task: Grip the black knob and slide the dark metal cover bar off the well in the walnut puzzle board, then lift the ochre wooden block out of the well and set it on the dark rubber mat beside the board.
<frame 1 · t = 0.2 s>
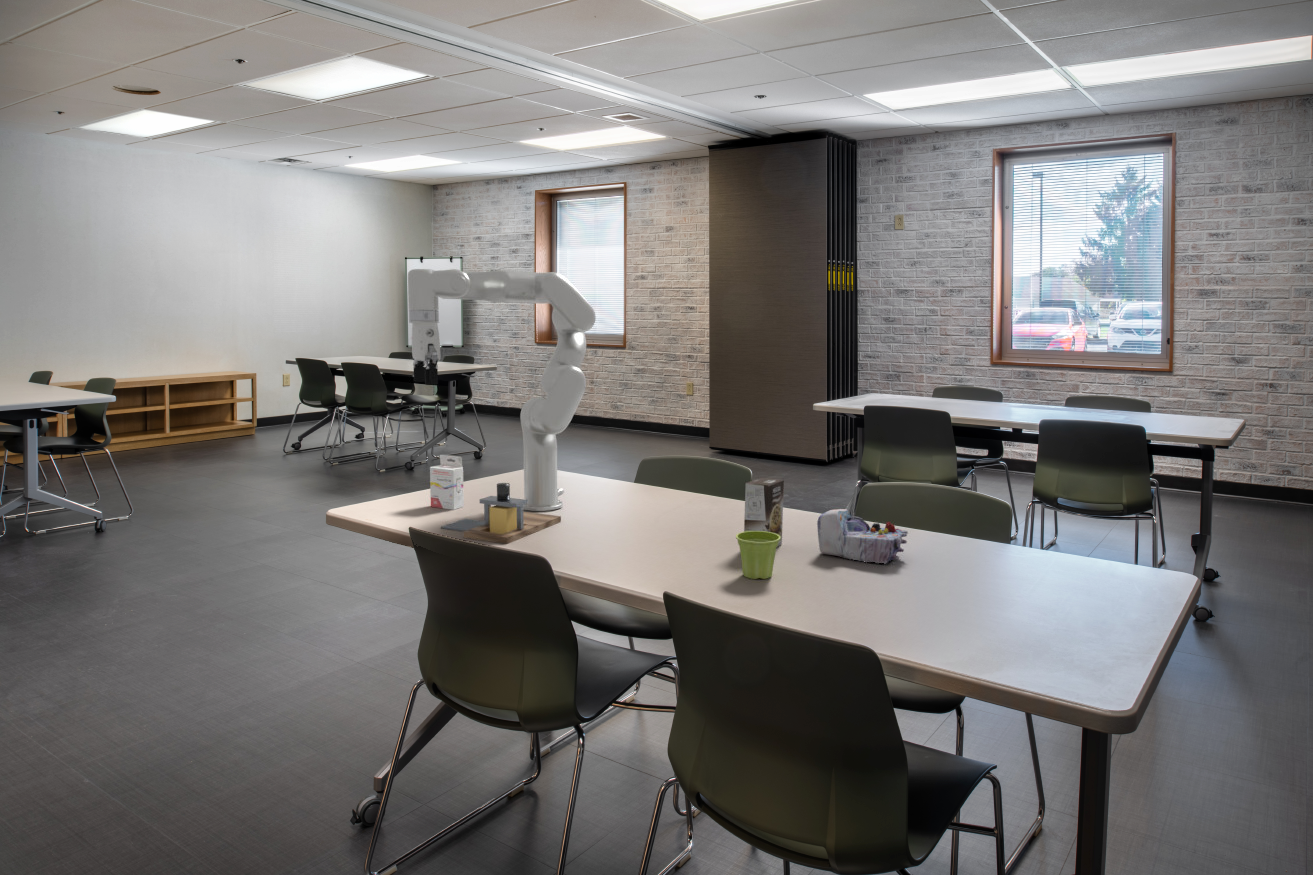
hand: (425, 383, 225), 37 cm above the table, fingers open, 9 cm apart
puzzle board: (514, 529, 221), on the table
plant pot: (757, 576, 183), on the table
ochre block: (504, 533, 217), resting in puzzle board
cover bar: (503, 505, 216), point 7 cm above the table, slide at 0.0 cm
coffee box: (763, 547, 206), on the table
rubber mat: (468, 526, 224), on the table
cell model: (860, 557, 199), on the table
ink cartridge box: (447, 507, 247), on the table
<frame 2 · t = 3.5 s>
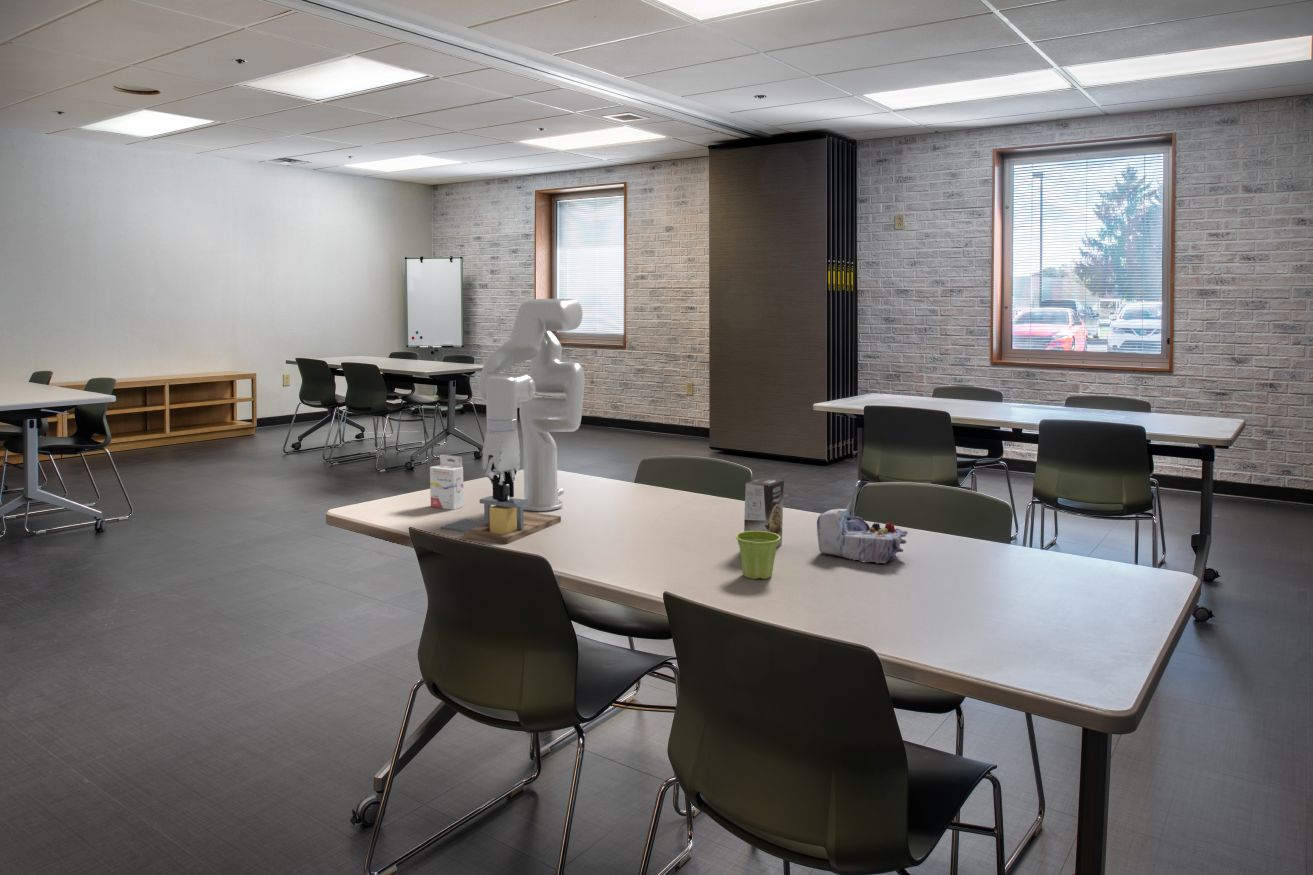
hand: (503, 497, 216), 9 cm above the table, fingers closed on cover bar, 3 cm apart
cover bar: (503, 505, 216), point 7 cm above the table, slide at 0.0 cm, touching gripper
everything else where it was.
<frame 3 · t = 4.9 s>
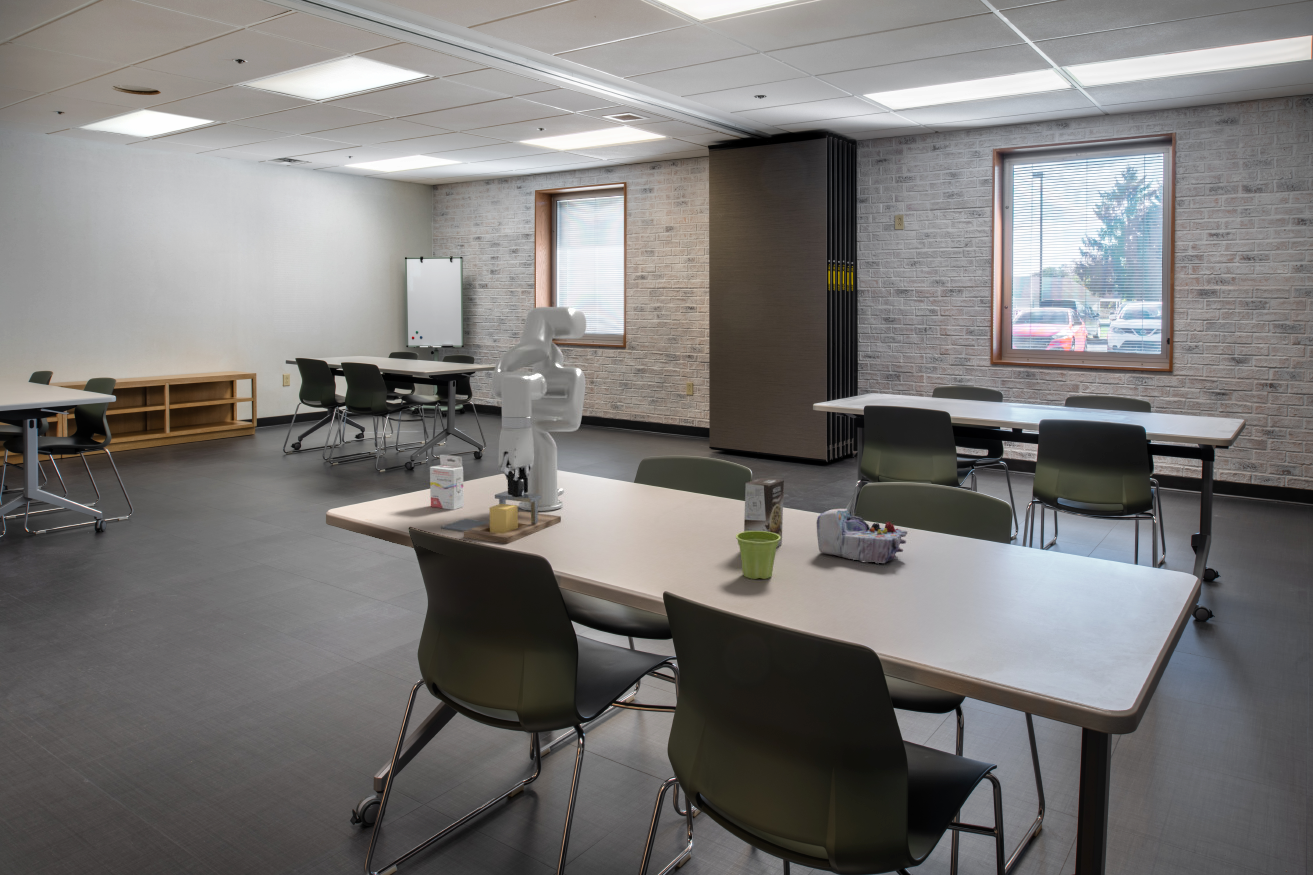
hand: (518, 492, 222), 9 cm above the table, fingers closed on cover bar, 3 cm apart
cover bar: (518, 500, 222), point 7 cm above the table, slide at 6.5 cm, touching gripper
everything else where it was.
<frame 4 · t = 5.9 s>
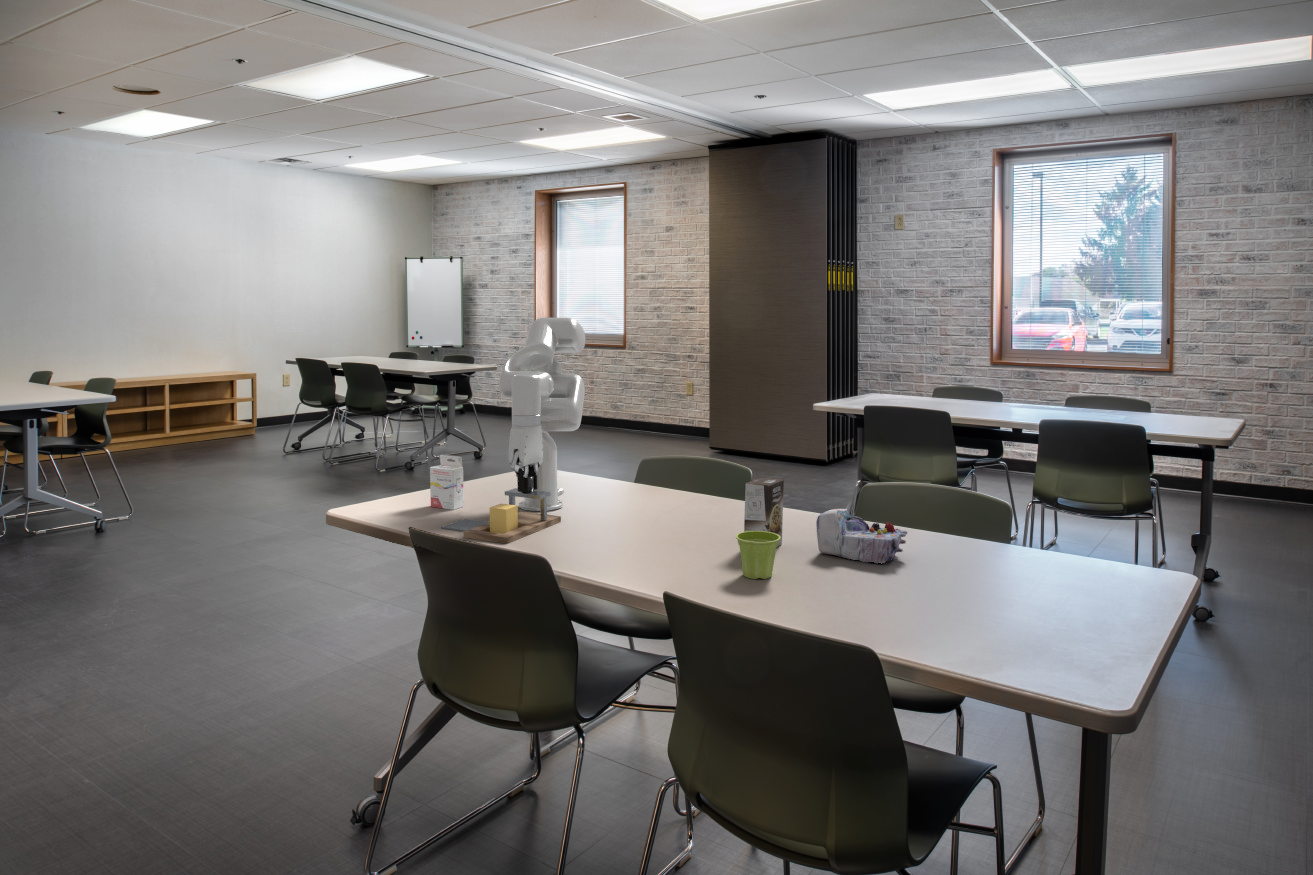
hand: (527, 489, 226), 9 cm above the table, fingers closed on cover bar, 3 cm apart
cover bar: (527, 497, 226), point 7 cm above the table, slide at 11.0 cm, touching gripper
everything else where it was.
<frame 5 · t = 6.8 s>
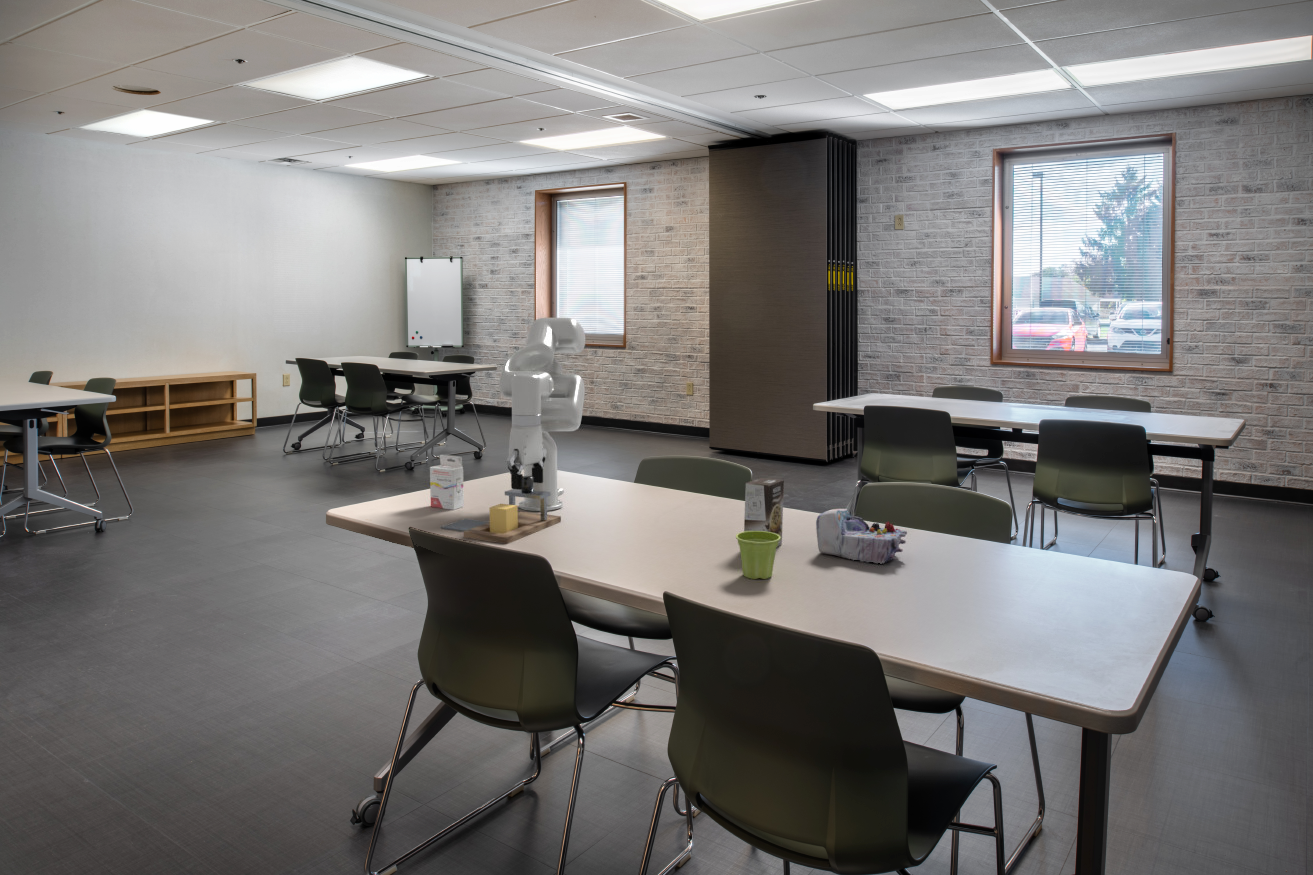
hand: (527, 485, 226), 10 cm above the table, fingers open, 9 cm apart
cover bar: (527, 497, 226), point 7 cm above the table, slide at 11.0 cm
everything else where it was.
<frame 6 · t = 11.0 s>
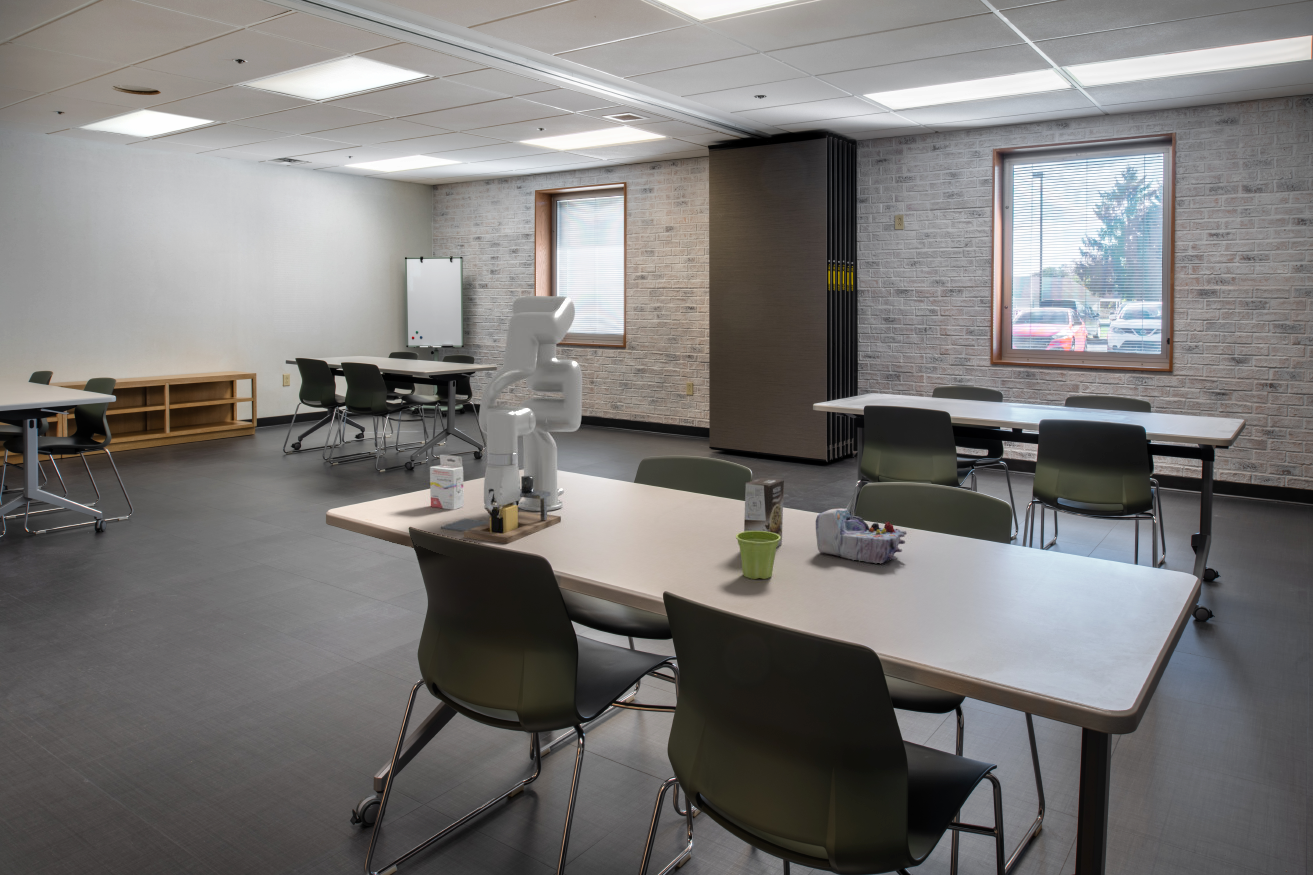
hand: (503, 529, 217), 1 cm above the table, fingers closed on ochre block, 5 cm apart
ochre block: (504, 533, 217), resting in puzzle board, touching gripper
everything else where it was.
when the fingers open (3 cm above the table, at t = 17.4 s): ochre block drops 1 cm, resting on rubber mat.
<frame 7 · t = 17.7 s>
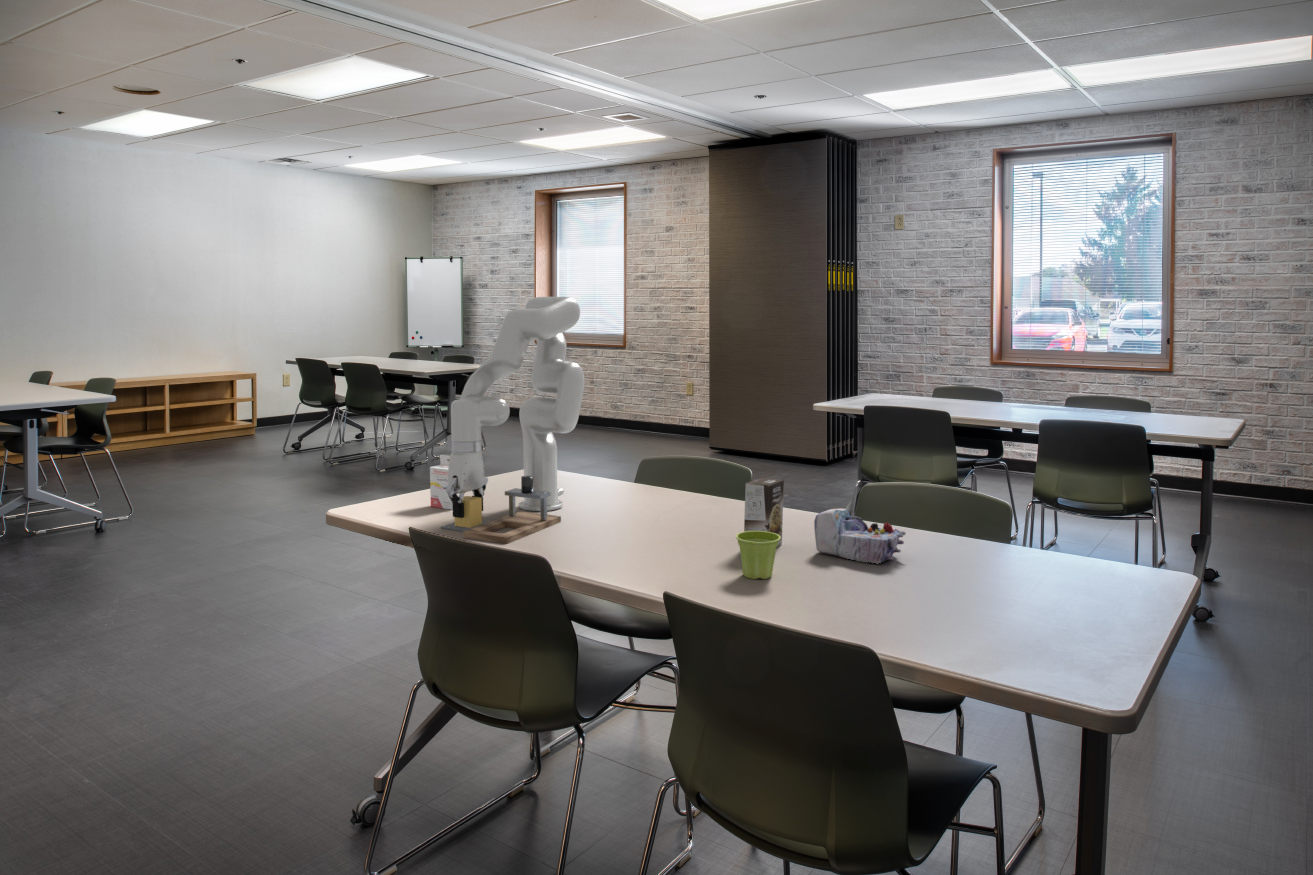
hand: (468, 513, 224), 3 cm above the table, fingers open, 7 cm apart
ochre block: (468, 524, 224), resting on rubber mat
everything else where it was.
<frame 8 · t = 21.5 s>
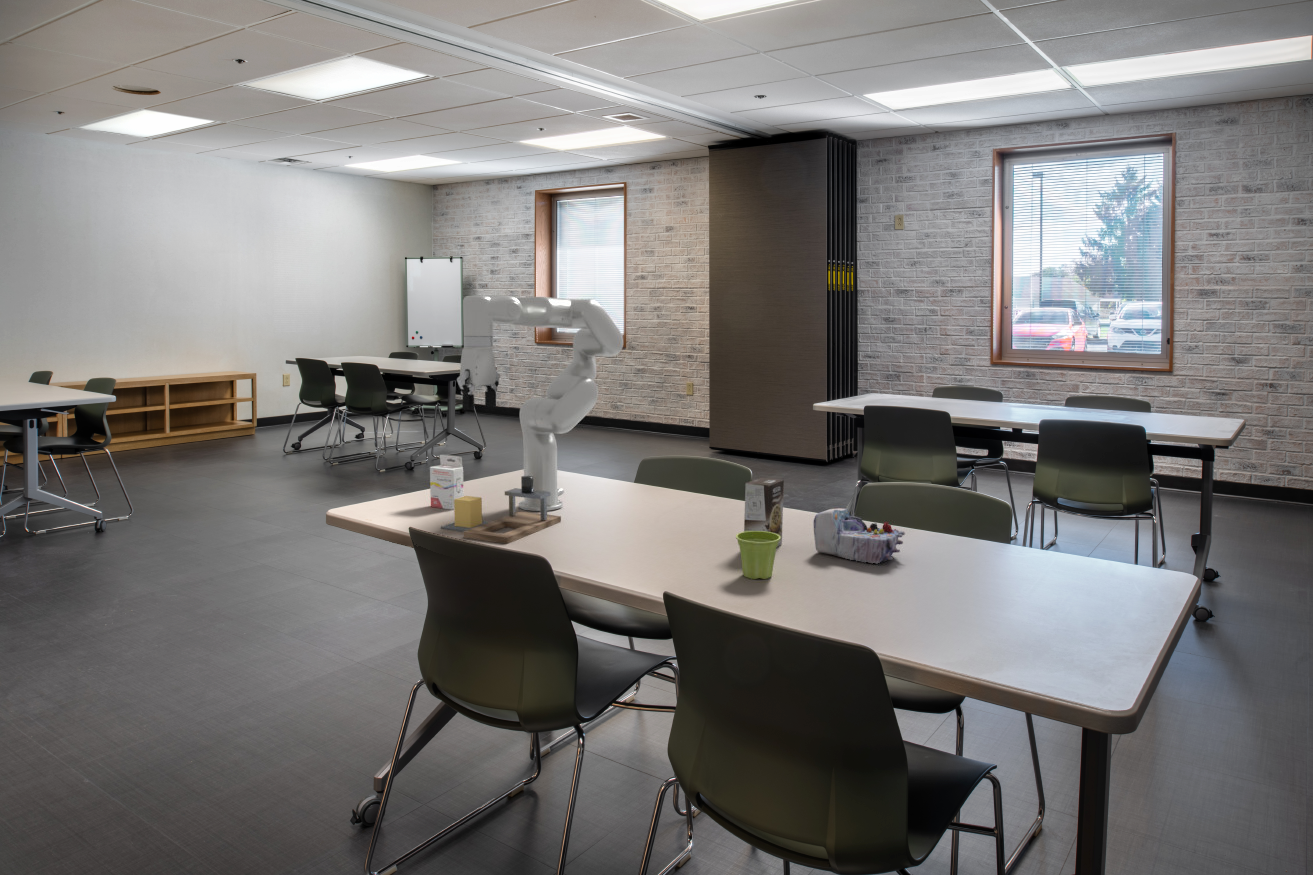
hand: (479, 407, 228), 30 cm above the table, fingers open, 9 cm apart
nothing on the table moved.
at the end: cover bar slide at 11.0 cm; ochre block inside the target area (0.0 cm from its centre), resting on rubber mat; ochre block tilted 0° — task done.
